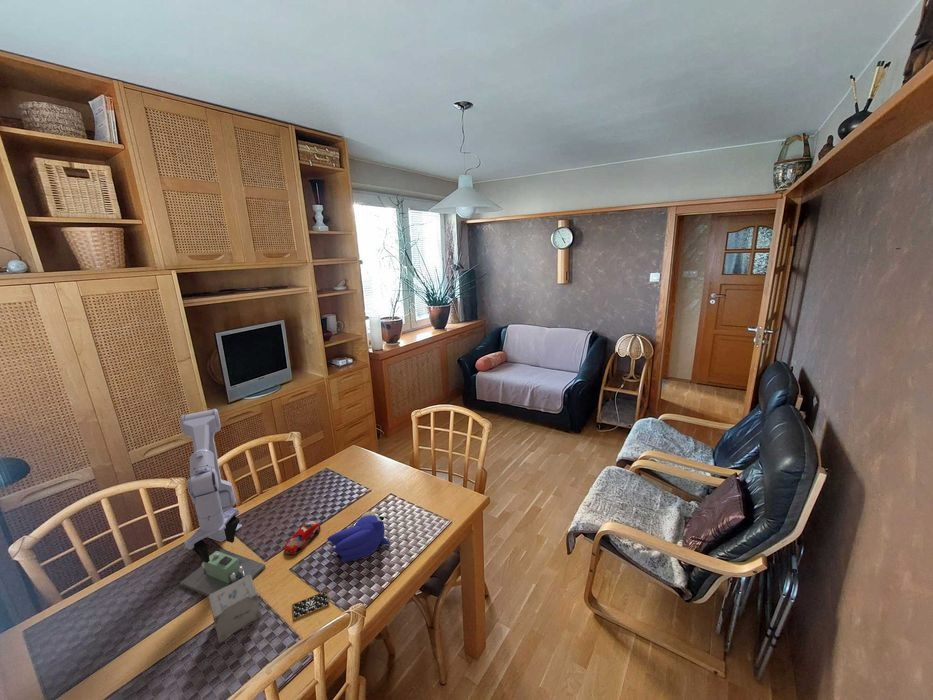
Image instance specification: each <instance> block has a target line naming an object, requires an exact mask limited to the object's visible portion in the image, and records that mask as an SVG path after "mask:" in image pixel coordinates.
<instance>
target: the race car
mask: <svg viewBox="0 0 933 700" xmlns="http://www.w3.org/2000/svg"><path fill="white" fill-rule="evenodd" d="M319 532H321V525H320V522H317V521H315V520H311V521H308V522H306V523H305V524H304V525H302V526H301V527H300V528H299V529H298V530H297V531H295V533H294V534H291V538H290V539H288V541H286V543H284V546H283V548H284V553H285V554H286V555H290V556H291V555H296V554H299V552H300V551H301V550H302V549H303V548H305V546H307V545H308V544H309V542H311V541H312V540H314V538H315V537H316V536H317V535H318V534H319Z"/></svg>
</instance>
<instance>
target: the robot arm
mask: <svg viewBox="0 0 933 700" xmlns="http://www.w3.org/2000/svg"><path fill="white" fill-rule="evenodd" d="M220 418H221V417H220V414H219V410H218V409H216V408H213V409H208V410H204V411H203V410H202V411H199V412H194V413H189V414H187V413H186V414H181V415H180V418H179V423H180V428H181V432H182V434H183V435H185V436H186V438H191V440H192V441H191V442H192V448H193V453H192V454H191V455H190V456H189V478H187V481H186V482H187V483H186V484H187V491H188V494H189V497H190V498H191V501H192V504H193V505H194V507H195V512H196V516H197V521H198V524H199V527H198V529H197V530H196V531H195V532H194V533H193V534H192V535H191V536H190V537H188V539H187V540H186V541H184V542H183V543H184V546H185V549H188V550H190V551H191V550H193V552H195V553H196V554H197V555H198V558H200V560H201V561H202V563H203V562H206V563H208V562H209V561H210V559H209V556H210V555H209V543H207V542H205V541H204V539H205V538H208V539H211V540H214V541H217V542H220V543H221V542H224V541H225V540H226V541H227V542H229V543H231V544H233V543H234V542H235V538H236V537H235V535H236V532H237V531H238V530H239V529H241V528H242V527H243V524H241V523H240V518H239V517H238V516H239V515H240V512H239V508H236V507H233V506H235V504H236V496H235V491H234V487H233V484H232V482H231V481H228V480H225V479H222V477H221V476H222V475H221V471H220V465H219V461H218V454H217V449H216V443H215V435H216V434H217V433H219V432H220V431H221V428H222V427H221V419H220Z"/></svg>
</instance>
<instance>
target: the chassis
mask: <svg viewBox="0 0 933 700" xmlns="http://www.w3.org/2000/svg"><path fill="white" fill-rule="evenodd" d="M219 552H221V553H224V554H227V555H230V556H232V557H235V558H238V560H239V565H240V566H239V567H238V572H239V575H238V576H236V575H235V572H233V573H231V574H230V577H231V582H230V583H227V582H224V581H222V580H219V579H217V578H214V577H212V576H209V575H207V574H206V570H205V566H204V562H203V561H202V562H201V565H200V566H199V567H198V568H197V569H195V570H194V571H192V573H190V574H189V575H188V576H187V577H185V578H184V579H183V580H181V581H180V585H181V586H182V587H184V588H186V589H188V590H192V591H194V592H196V593H199V594H200V595H202V596H205V597H208V598H209V595H210V594H212V593H214V592H216V591H218V590H220V589H222V588H224V587H226V586H228V585H230V584H232V583H234V582H236V581H238V580H240V579H242V578H244V577H246V576H248V575H251V577H252V580H253V579H255V578H256V577H257V576H258V575H259V574H260V573H261V572H262V571H263V570H265V568H266V564H265V563H263V562H259V561H257V560H254V559H251V558H248V557H246V556H242V555H241V554H237V553H234V552H232V551H229V550H226V549H221V550H220V551H219Z"/></svg>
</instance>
